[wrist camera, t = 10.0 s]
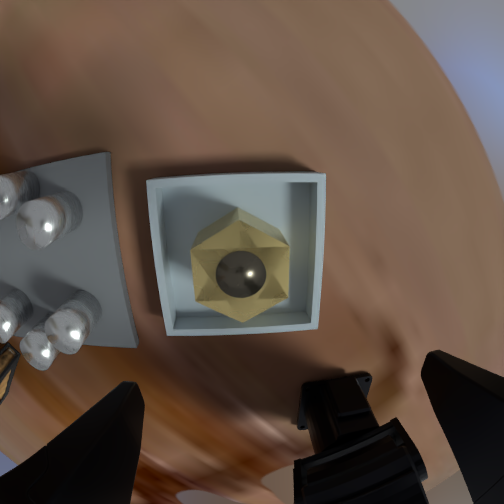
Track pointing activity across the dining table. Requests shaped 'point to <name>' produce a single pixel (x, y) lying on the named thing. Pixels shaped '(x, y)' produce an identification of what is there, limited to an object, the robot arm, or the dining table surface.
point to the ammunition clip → (7, 368)
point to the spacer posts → (37, 237)
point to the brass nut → (240, 266)
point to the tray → (215, 207)
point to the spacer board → (73, 253)
